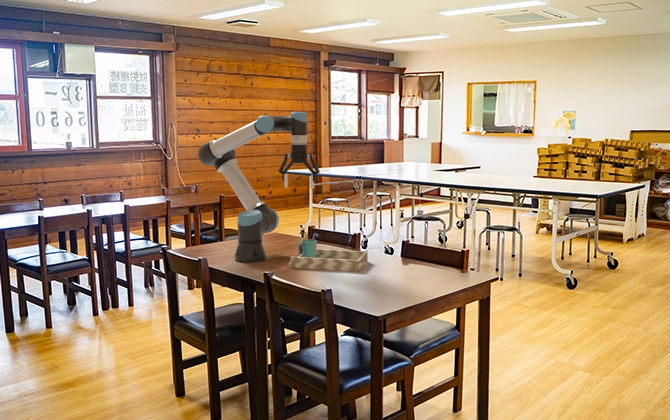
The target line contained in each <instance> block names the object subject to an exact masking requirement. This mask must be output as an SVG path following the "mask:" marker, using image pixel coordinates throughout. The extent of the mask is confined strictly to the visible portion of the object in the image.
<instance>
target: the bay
mask: <svg viewBox="0 0 670 420" xmlns="http://www.w3.org/2000/svg"><path fill="white" fill-rule="evenodd" d="M368 254H369V252H368V251H361V250H360V251H359V250H345V249H344V250H341V249H327V248H326V249H324V248H316V255H315V258H310V257H303V254H300V255H299V256H298V255H297V256H290V261H289V262H288V263H287V265H288V266H287V267H288V269H289V268H292V269H293V268H294V269H307V270H324V271H325V270H326V271H341V272H356V273H357V272H358V273H359V272H361V270H362V269H363V268H364V267H365V266H366V264H367V263H368V262H369V261H368V260H369V259H368V258H369V257H368Z"/></svg>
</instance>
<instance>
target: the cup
mask: <svg viewBox="0 0 670 420" xmlns="http://www.w3.org/2000/svg"><path fill="white" fill-rule="evenodd" d="M315 237H318V238H319V237H320V235H319V234H318V233H315V232H314V233H313V234H312V239H311V238H310V239H309V235H308V233H307V232H304V233H303V238H304V239H302V240H301V241H300V243H302V249H303V257H310V258H315V255H316V249H317V244H318V240H316V239H315Z"/></svg>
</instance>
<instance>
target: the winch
mask: <svg viewBox="0 0 670 420" xmlns="http://www.w3.org/2000/svg"><path fill="white" fill-rule="evenodd" d="M300 254H303V249H302V243H301V242H300V243H299V244H298V255H297V257H298V256H299V255H300Z"/></svg>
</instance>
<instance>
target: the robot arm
mask: <svg viewBox="0 0 670 420" xmlns="http://www.w3.org/2000/svg"><path fill="white" fill-rule="evenodd" d="M307 119H308V118H307V113H306V111H292V112H290V115H261V116H260V115H259V117H257V118H256V120H255V121H253V122H251V123H248V124H246V125H244V126H243V127H241V128H238V129H237V130H235V131H232V132H230V133H229V134H226V135H225V136H222V137H220V138H218V139H212V140H209V141H207V142H205V143H203V144H201V145H200V147H199V148H198V150H197V158H198V160H199V162H200V163H201V164H203V165H204V166H206V167H207V166H208V167H214V169H215V170H216V171H217V173H222V175H223V176H224V178H225V180H226V181H227V183H228V184H229V185H230V188H231V189H232V190H233V192H234V194H235V195H236V196H237V198H238V200H239V201H240V203H241V204H242V206H243V207H244V209H245V210H244V211H241V212H239V214H238V215H237V222H236V223H237V247H236V250H235V254H234V260H235V261H236V260H237V261H236V262H240V261H242V263H256V262H263V261H265V260H266V259H267V253H266V250H265V248H264V244H263V235H265V234H269V233H271V232H273V231H274V230H276V229H277V228H278V226H279V221H280V220H279V214H278V213H277V211H275V210H274V209H272V208H269V205H267V203H266V202H263V201H261V199H260V198H259V196H258V195H257V193H256V191H255V190H254V189H253V187H252V186H251V184H250V183H249V181H248V179H247V178H246V177H245V175H244V173H243V172H242V170H241V169H240V168H239V166H238V165H237V162H238V159H237V156H236V149H237V148H240V147H241V146H244V145H245V144H247V143H249V142H252V141H254V140H256V139H258V138H260V137H263V136H264V135H266V134H269V133H273V132H276V133H278V132H290V135H291V136H290V138H291V139H290V140H291V141H290V142H291V149H290V150H291V152H290V153H285V154H284V159H283V160H282V163H281V165H280V168H279V170H278V173H281V174H282V181H284V184H283V185H284V187H283V188H285V189H286V188H288V185H289V183H288V182H289V181H288V178H289V177H288V171H289V170H290V169H291V168H292V166H293V165H294V164H300V165H301V164H303V165H305V167H306V168H307V169H308V170H309V172H310V173H311V174H310V189H315V182H316V181H317V175H318V174H320V173H321V172H320V169H319V167H318V165H317V163H316V161H315V157H314V154H313V153H312V154H308V145H307V144H308V134H307V133H308V127H307V125H308V120H307ZM290 158H291V161H290V162H289V163H288V161H289V159H290ZM307 159H309V160H310V163H311V165H310V163H309V161H308V160H307ZM287 163H288V164H287Z"/></svg>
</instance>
